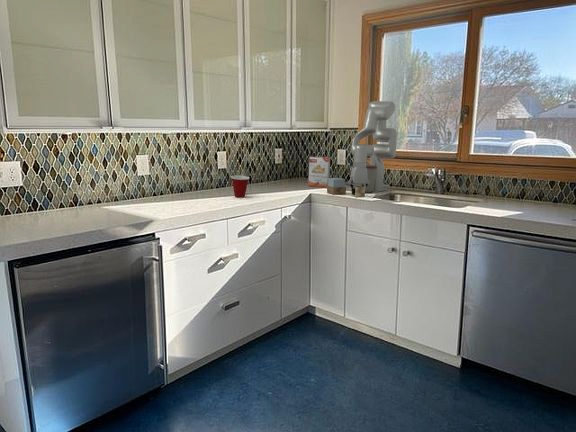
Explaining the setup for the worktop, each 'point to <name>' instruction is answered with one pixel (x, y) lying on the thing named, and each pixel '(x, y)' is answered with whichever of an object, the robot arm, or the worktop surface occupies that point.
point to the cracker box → (319, 171)
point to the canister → (370, 177)
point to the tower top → (336, 182)
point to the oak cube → (359, 191)
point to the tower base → (336, 190)
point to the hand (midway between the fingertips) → (358, 194)
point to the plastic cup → (239, 185)
